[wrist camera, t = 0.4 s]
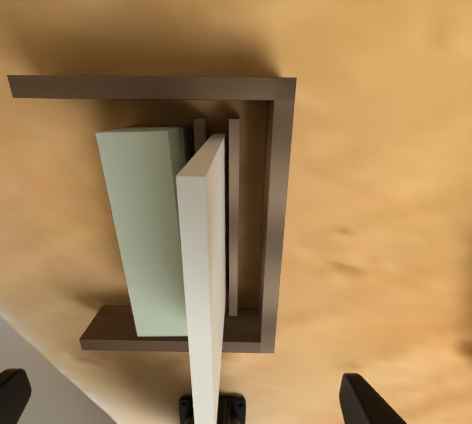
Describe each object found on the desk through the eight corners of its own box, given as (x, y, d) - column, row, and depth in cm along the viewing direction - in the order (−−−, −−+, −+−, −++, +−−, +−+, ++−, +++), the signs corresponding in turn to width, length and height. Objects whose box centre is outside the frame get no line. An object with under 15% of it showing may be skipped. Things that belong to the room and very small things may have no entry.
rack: (269, 317, 23) (273, 353, 20) (104, 315, 23) (82, 349, 20) (285, 82, 16) (296, 77, 13) (53, 80, 16) (6, 75, 13)
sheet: (226, 287, 22) (214, 447, 12) (216, 287, 22) (196, 446, 12) (225, 133, 18) (205, 176, 7) (213, 133, 18) (175, 176, 7)
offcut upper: (195, 309, 20) (190, 335, 18) (149, 309, 20) (137, 336, 18) (178, 126, 15) (167, 131, 13) (116, 128, 15) (95, 132, 13)
